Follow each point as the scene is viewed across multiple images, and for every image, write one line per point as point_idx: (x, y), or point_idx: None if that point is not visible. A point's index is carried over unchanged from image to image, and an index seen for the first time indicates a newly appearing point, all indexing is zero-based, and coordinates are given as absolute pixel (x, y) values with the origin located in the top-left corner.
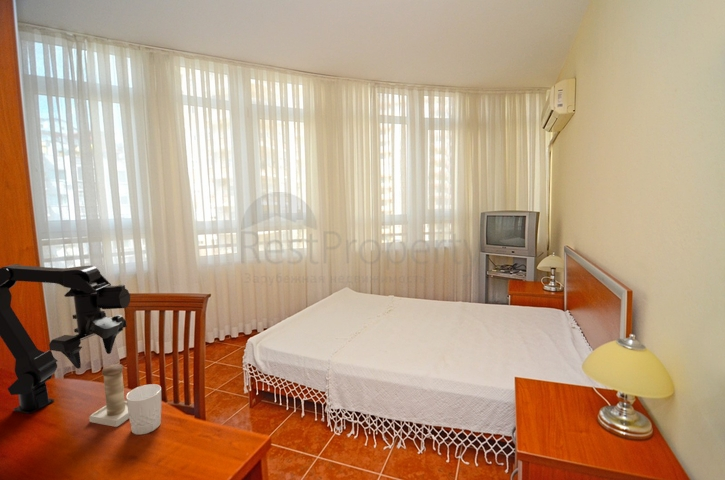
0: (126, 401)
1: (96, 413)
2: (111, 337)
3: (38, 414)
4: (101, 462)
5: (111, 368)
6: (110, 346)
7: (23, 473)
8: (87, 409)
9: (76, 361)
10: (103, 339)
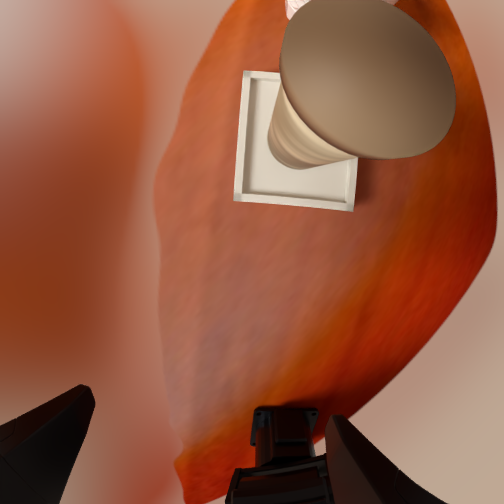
0: (240, 139)
1: (329, 201)
2: (2, 463)
3: (317, 392)
4: (452, 56)
5: (390, 69)
6: (53, 417)
7: (497, 205)
8: (279, 283)
9: (383, 458)
10: (57, 492)
